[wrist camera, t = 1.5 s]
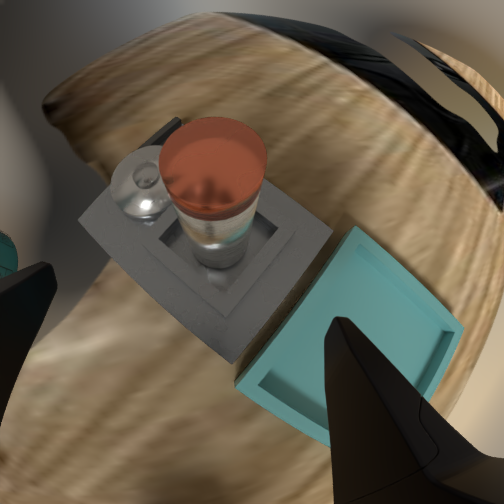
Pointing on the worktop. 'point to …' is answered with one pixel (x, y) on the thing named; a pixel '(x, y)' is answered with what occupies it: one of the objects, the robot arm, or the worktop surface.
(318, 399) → the tray
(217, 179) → the pin
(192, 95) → the worktop surface
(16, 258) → the teal can
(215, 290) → the block
